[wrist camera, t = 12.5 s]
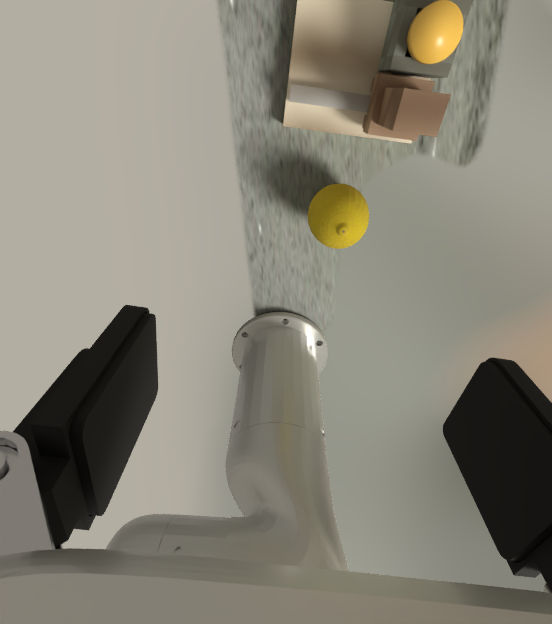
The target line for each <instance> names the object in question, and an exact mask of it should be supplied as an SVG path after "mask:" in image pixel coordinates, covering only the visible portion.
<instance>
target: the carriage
mask: <svg viewBox="0 0 552 624" xmlns="http://www.w3.org/2000/svg"><path fill="white" fill-rule="evenodd" d="M434 83H435V81H429V80H422V79H415V78H408V77H401V76H394V75H387V74H376V77H375V78H373V81H372V85H371V90H370V92H371V93H372V94H371V99H370V103H369V107H368V112H367V115H365V116H364V121H363V125H362V128H363V132H365V133H366V134H369V135H376V136H383V137H391V138H398V139H405V140H413V141H417V137H418V134H419V135H426V136H433V137H437V134H438V131H439V128H440V125H441V122H442V119H443V116H444V114H445V111H446V108H447V105H448V102H449V99H450V96H451V95H450V94H443V93H436V92H432V89H433V86H434Z"/></svg>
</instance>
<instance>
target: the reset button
mask: <svg viewBox="0 0 552 624" xmlns="http://www.w3.org/2000/svg"><path fill="white" fill-rule="evenodd" d="M462 32H463V16H462V13H461V11H460V9H459V7H458V6H457V5H456V4H455V3H453V2H451V1H449V0H439V1H436V2H434V3H432V4H430V5H428V6H426V7H425V8H423V9H422V10H421V11H420V12H419V13H418V14H417V15H416V17H415V18H414V19H413V21H412V23H411V25H410V28H409V31H408V36H407V50H406V54H405V56H406V57H411V58H413V59H414V60H415V61H416V62H418V63H420V64H434V63H438V62H440V61H442V60H444V59H446V58H447V57H448V56H449V55H450V54H451V53H452V52H453V51H454V50H455V48H456V47H457V45H458V43H459V41H460V39H461V36H462Z"/></svg>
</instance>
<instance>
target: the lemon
mask: <svg viewBox="0 0 552 624" xmlns="http://www.w3.org/2000/svg"><path fill="white" fill-rule="evenodd" d="M368 221H369V211H368V205H367V203H366V200H365V198H364V197H363V196H362V194H361V193H360V192H359V191H358V190H356V189H355V188H354V187H352V186H349V185H346V184H339V183H337V184H332V185H329V186H326V187H324V188H322V189H321V190H320V191H319V192H317V194H316V195H315V196H314V198H313V199H312V201H311V203H310V206H309V210H308V223H309V226H310V229H311V232H312V233H313V235H314V236H315V238H316V239H317V240H318V241H320V242H321V243H322V244H324V245H326V246H328V247H331V248H336V249H337V248H346V247H349V246H351V245H353V244H355V243H356V242H357V241H358V240H359V239H361V237H362V236H363V234H364V233H365V231H366V229H367V226H368Z"/></svg>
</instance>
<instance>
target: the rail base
mask: <svg viewBox="0 0 552 624" xmlns="http://www.w3.org/2000/svg"><path fill="white" fill-rule="evenodd" d="M436 1H439V0H396V1H394V2H390V1H384V0H297V8H296V17H295V25H294V34H293V43H292V52H291V60H290V69H289V78H288V87H287V96H286V104H285V113H284V122H283V126H288V127H295V128H302V129H309V130H317V131H324V132H331V133H339V134H346V135H353V136H361V137H368V138H375V139H382V140H390V141H397V142H404V143H411V142H412V140H405V139H398V138H391V137H383V136H376V135H369V134H366V133H365V132H363V128H362V125H363V121H364V116H365V115H367V112H368V107H369V103H370V99H371V94H372V93H371V92H370V90H371V85H372V81H373V78H375V77H376V74H387V75H394V76H401V77H408V78H415V79H422V80H429V81H430V80H431V78H444V77H448V74H449V71H450V68H451V65H452V62H453V59H454V56H455V53H456V50H457V47H458V45H457V47H456V48H455V50H454V51H453V52H452V53H451V54H450V55H449V56H448V57H447V58H446V59H444V60H442V61H440V62H438V63H434V64H420V63H418V62H416V61H415V60H414V59H413V58H411V57H406V56H405V54H406V50H407V36H408V31H409V28H410V25H411V23H412V21H413V19H414V18H415V17H416V15H417V14H418V13H419V12H420V11H421V10H422V9H423V8H425V7H426V6H428V5H430V4H432V3H434V2H436ZM449 1H451V2H453V3H455V4H456V5H457V6H458V7H459V9H460V11H461V13H462V16H463V29H464V26H465V22H466V19H467V16H468V13H469V10H470V7H471V4H472V1H473V0H449ZM458 44H459V43H458Z"/></svg>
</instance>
